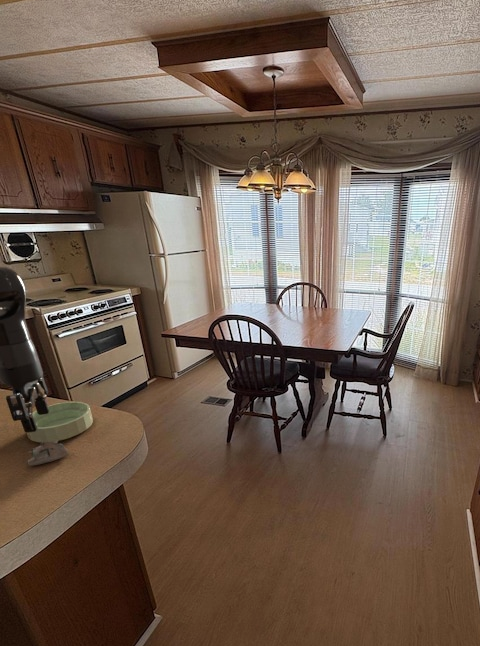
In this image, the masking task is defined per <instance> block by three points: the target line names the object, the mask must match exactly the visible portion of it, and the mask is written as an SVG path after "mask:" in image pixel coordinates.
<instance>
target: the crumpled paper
mask: <svg viewBox="0 0 480 646" xmlns="http://www.w3.org/2000/svg"><path fill="white" fill-rule="evenodd" d="M58 442H59V441H54V442H39V443H40V445H38V446H36V447H32V450H29V451H28V453H30V454H32V455H33V456H32V457H31V458H30V459H27V464H28V467H33V466H39V465H42V464H47V463H50V462H53V461H57V460H60V459H62V458H65V457H68V456H69V451H68V449H67V448H66V447H65V445H64V444H62V443H58Z"/></svg>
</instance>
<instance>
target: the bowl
mask: <svg viewBox="0 0 480 646" xmlns="http://www.w3.org/2000/svg"><path fill="white" fill-rule="evenodd" d="M47 406H48V409H49V412H48V414H42V415H39V414H38V413H37V410H36V409H35V410H34V411H33V417H34V420H35V423H36V426H37V430H36V431H35V432H29V433H26V435H27V438H28V439H29V440H31V442H35V443H43V442H44V443H45V442H54V441H58V442H60V441H63V440H68V439H70V438H72V437H75V436H77V435H80V434H82V433H83V432H85V431H87V430H88V429H89V428H90V427H91V426H93V422H94V418H93V415H92V411H91V407H90V405H89V404H88V403H86V402H83V401H63V402H58V403H53V404H50V405H47Z"/></svg>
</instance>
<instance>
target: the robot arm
mask: <svg viewBox="0 0 480 646" xmlns="http://www.w3.org/2000/svg"><path fill="white" fill-rule="evenodd" d="M26 303H27V289H26V285H25V283H24V281H23V279H22V276H20V275H19V273H17V272H16V271H15V270H13V268H10V267H6V266H0V383H1V384H3V385H5V386H10V387H11V388H12V394H10V395H6V396H5V400H6V403H7V406H8V409H9V413H10V416H11V418H12V421H13V422H17V421H20V422H21V425H22V428H23V431H24V433H26V434H27V433H29V432H35V431H36V430H37V426H36V423H35V420H34V417H33V412H34V411H33V409H34V408H35V411H36V410H37V413H38V414H39V415H42V414H48V412H49V409H48V406H49V405H48V403H47V395H48V394H49V390H48V387H47V384H46V382H45V379H44V371H43V368H42V365H41V361H40V359H39V355H38V352H37V349H36V347H35V344H34V341H32V338H31V334H30V331H29V328H28V326H27V322H26V310H27V309H26V307H27V305H26Z"/></svg>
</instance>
